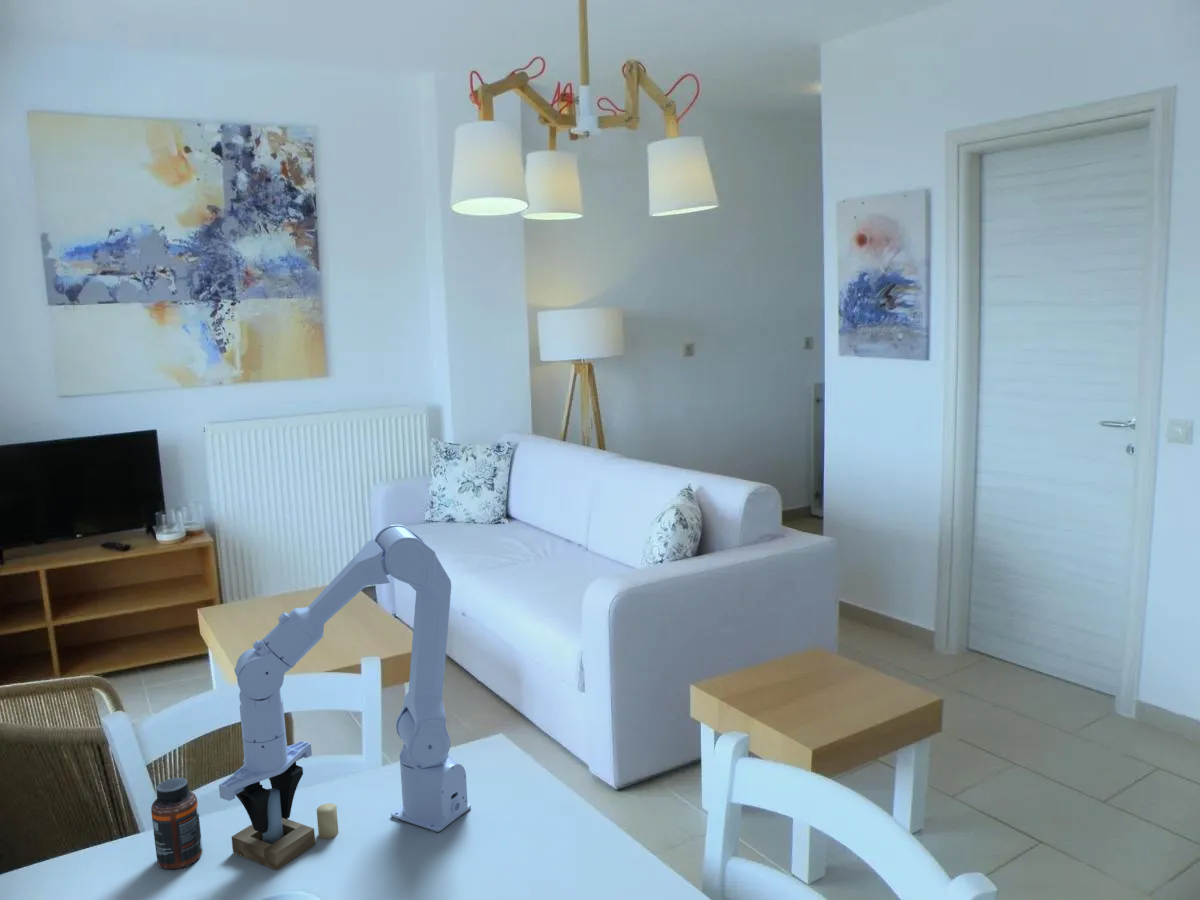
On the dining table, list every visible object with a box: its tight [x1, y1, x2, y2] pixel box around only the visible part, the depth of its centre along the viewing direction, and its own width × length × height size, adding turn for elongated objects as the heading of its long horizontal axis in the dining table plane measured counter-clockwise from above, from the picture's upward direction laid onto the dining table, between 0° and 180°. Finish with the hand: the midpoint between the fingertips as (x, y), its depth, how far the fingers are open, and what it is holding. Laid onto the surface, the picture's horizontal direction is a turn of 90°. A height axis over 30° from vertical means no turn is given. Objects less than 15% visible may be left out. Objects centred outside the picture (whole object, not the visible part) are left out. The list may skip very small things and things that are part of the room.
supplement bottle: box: [150, 777, 203, 870], centre depth 132 cm, size 6×6×11 cm
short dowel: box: [316, 802, 339, 840], centre depth 138 cm, size 3×3×4 cm
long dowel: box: [262, 787, 283, 844], centre depth 134 cm, size 3×3×8 cm
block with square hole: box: [231, 818, 316, 871], centre depth 135 cm, size 9×7×2 cm
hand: (272, 823), depth 134 cm, fingers open, 3 cm apart
